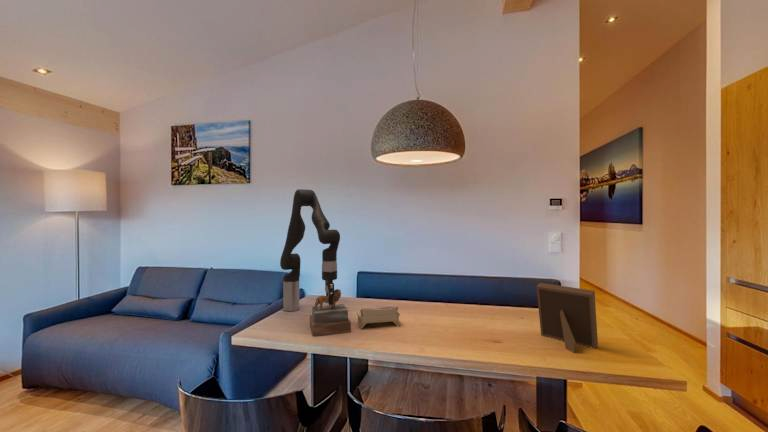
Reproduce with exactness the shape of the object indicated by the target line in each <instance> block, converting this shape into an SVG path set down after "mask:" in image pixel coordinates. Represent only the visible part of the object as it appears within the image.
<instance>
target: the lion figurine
mask: <svg viewBox="0 0 768 432" xmlns="http://www.w3.org/2000/svg"><path fill="white" fill-rule="evenodd" d="M331 294H332V293H331ZM341 297H342V292H341V289H339V288H336V289H334V297H333V305H331V307H333V308H334V309H336V307H335V305H336V303H337V302H339V301H340V299H341ZM324 303H325V304H329V297H328V296H326V295H320V296H317V297H316V299H315V303H314V306H313V307H314V308H313V310H314V309H318V307H317V306H320V308H321V310H324V309H323V308H322V306H324V305H323V304H324Z"/></svg>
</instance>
